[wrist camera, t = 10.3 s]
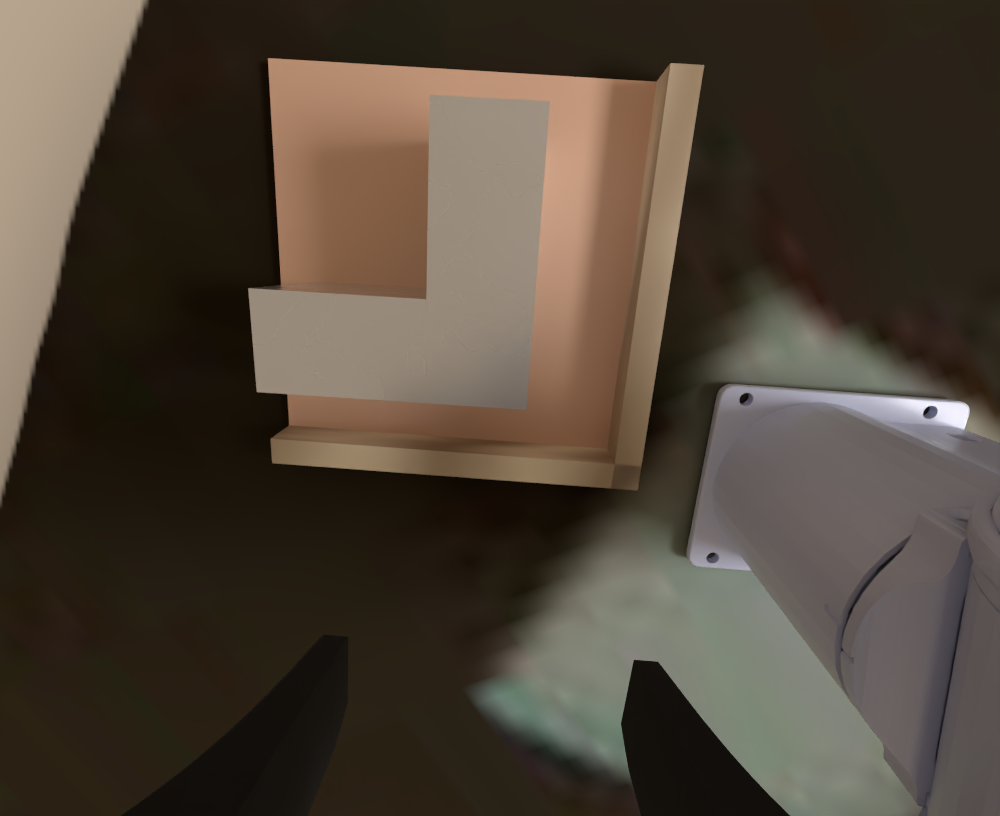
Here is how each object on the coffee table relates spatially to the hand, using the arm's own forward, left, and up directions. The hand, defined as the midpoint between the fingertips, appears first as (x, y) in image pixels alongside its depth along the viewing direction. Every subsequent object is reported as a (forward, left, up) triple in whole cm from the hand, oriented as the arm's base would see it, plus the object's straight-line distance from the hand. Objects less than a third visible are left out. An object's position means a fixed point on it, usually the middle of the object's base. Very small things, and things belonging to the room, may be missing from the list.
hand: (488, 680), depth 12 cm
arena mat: (+2, -9, -9) cm, 13 cm away
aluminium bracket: (+3, -10, -9) cm, 14 cm away
